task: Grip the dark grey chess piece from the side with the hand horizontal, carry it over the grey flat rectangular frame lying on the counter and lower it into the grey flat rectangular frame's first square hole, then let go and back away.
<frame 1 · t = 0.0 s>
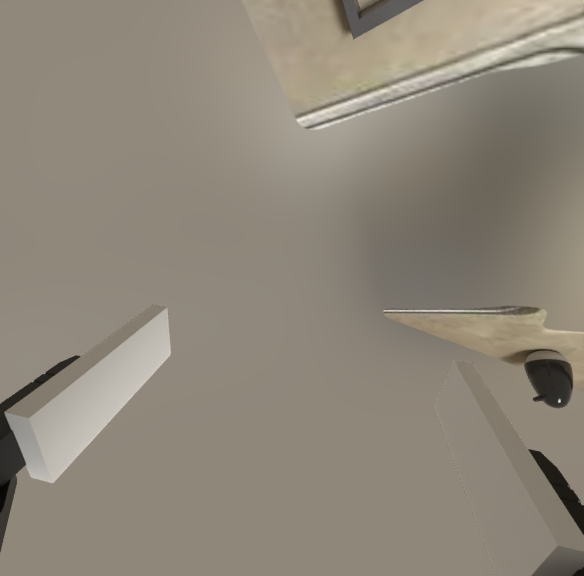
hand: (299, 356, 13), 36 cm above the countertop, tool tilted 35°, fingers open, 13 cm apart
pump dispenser: (543, 352, 85), on the countertop
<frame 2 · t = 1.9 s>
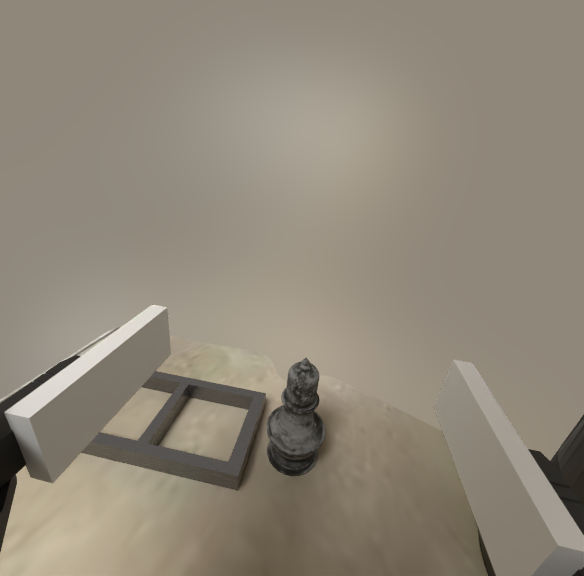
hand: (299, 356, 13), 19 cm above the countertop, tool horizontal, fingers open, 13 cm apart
dark grey chess piece: (292, 452, 30), on the countertop
grey flat rectangular frame: (167, 422, 32), on the countertop
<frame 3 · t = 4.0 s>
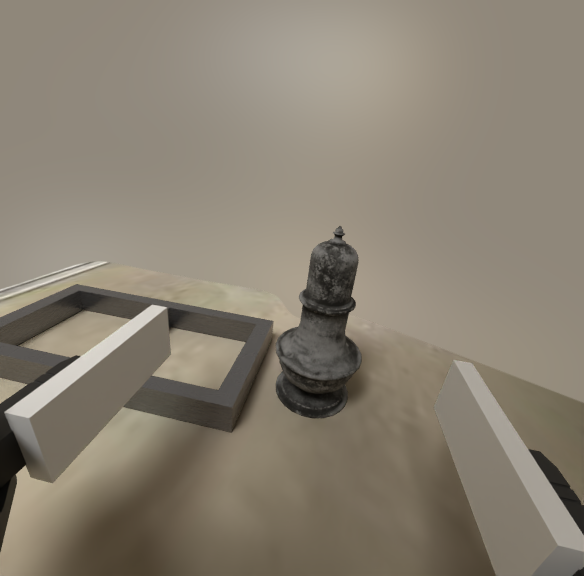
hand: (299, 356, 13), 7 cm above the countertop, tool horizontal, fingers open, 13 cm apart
dark grey chess piece: (311, 390, 21), on the countertop
grey flat rectangular frame: (137, 351, 23), on the countertop
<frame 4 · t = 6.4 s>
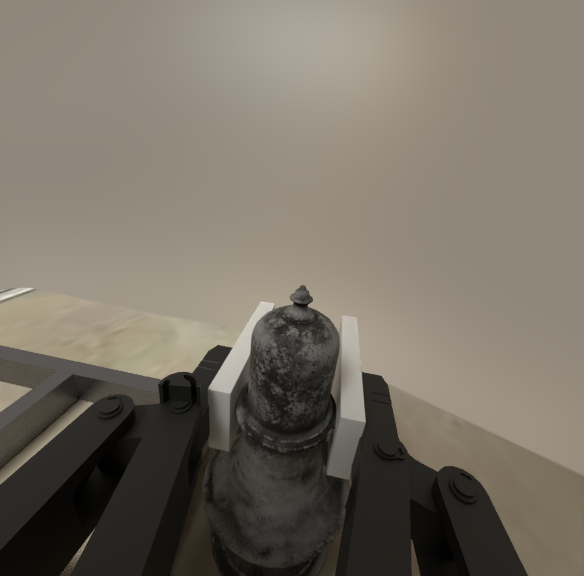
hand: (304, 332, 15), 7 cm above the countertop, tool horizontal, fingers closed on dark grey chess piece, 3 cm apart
dark grey chess piece: (270, 525, 13), on the countertop, touching gripper
grey flat rectangular frame: (4, 454, 15), on the countertop
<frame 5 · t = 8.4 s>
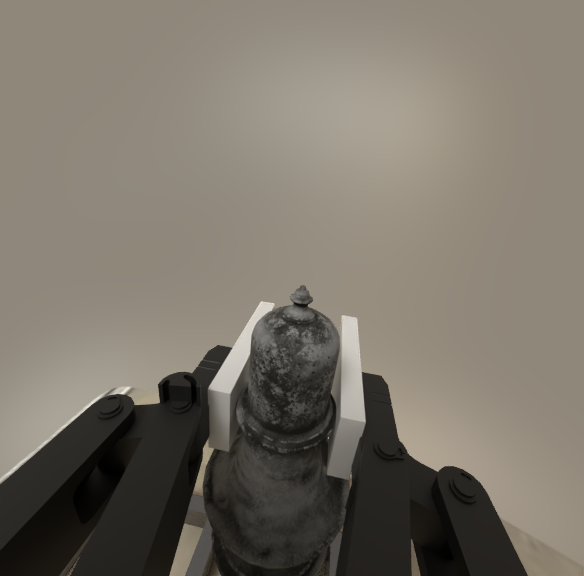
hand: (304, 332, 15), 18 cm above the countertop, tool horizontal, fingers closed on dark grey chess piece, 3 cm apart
dark grey chess piece: (270, 526, 13), point 11 cm above the countertop, touching gripper
when the fingers open (8 cm above the countertop, at t = 10.4 s): dark grey chess piece drops 1 cm, resting in grey flat rectangular frame.
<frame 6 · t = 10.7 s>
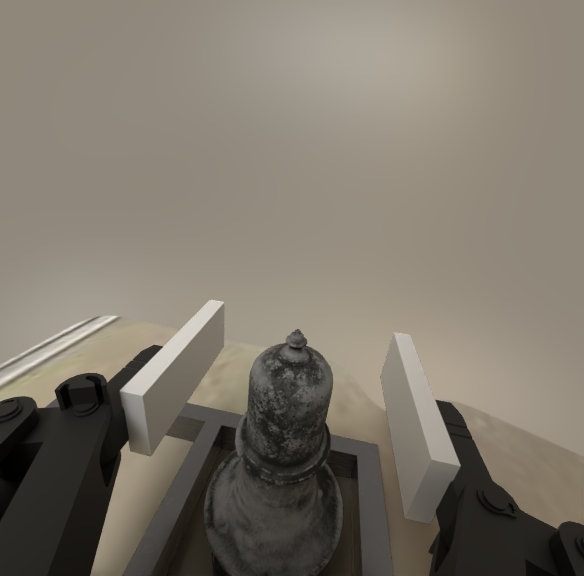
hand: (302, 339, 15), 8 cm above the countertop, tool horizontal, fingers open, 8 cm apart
dark grey chess piece: (268, 544, 14), resting in grey flat rectangular frame
grey flat rectangular frame: (180, 517, 14), on the countertop
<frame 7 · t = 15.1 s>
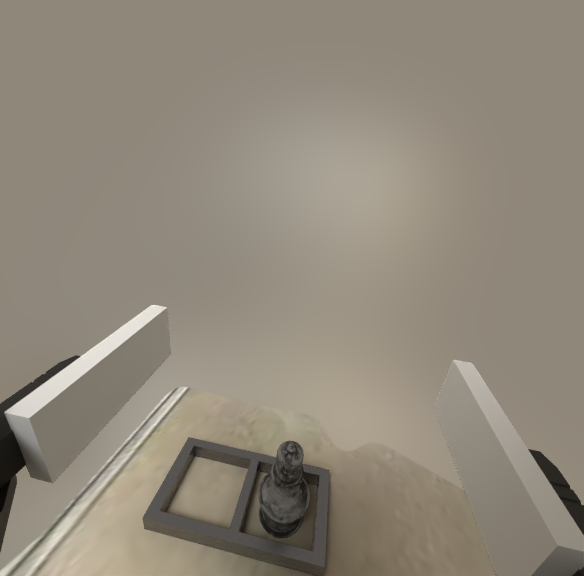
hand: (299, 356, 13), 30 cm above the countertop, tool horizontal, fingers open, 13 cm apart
dark grey chess piece: (281, 512, 34), resting in grey flat rectangular frame
grey flat rectangular frame: (245, 501, 35), on the countertop
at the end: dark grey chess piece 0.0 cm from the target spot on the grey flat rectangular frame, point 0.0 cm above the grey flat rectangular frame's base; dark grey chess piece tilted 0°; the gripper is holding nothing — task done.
